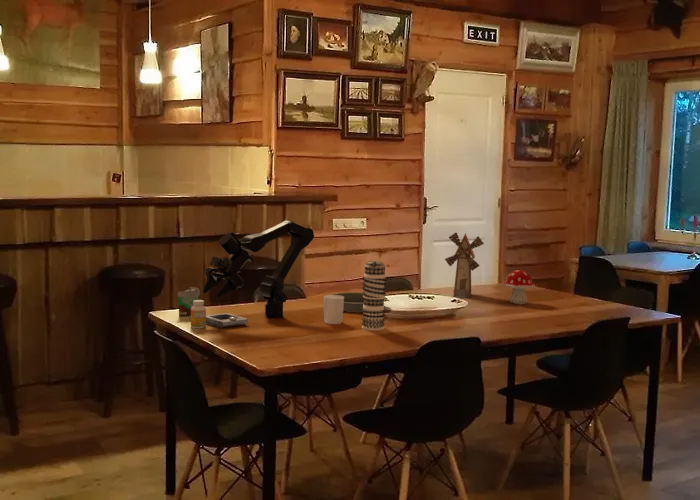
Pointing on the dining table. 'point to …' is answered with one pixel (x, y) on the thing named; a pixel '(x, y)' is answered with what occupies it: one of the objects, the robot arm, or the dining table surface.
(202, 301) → the supplement bottle
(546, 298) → the dining table surface
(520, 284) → the decorative mushroom
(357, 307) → the cake pan
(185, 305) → the food container
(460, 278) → the windmill
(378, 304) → the decorative candle
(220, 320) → the grey knobbed square frame
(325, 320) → the white cup
